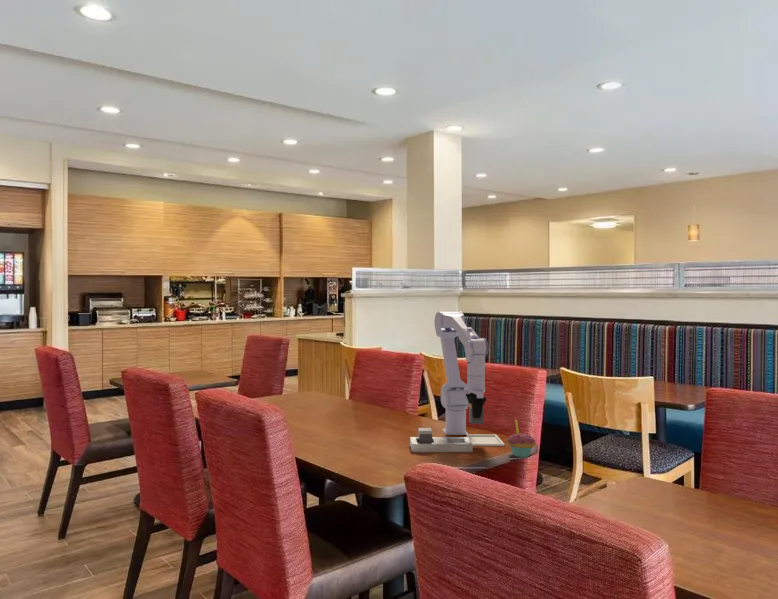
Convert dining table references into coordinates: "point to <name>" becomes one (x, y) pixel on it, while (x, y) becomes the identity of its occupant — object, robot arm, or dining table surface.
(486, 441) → the tray
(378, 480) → the dining table surface
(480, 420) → the plug
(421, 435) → the twin plug
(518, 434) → the cupcake
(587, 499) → the dining table surface
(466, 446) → the pdu strip
